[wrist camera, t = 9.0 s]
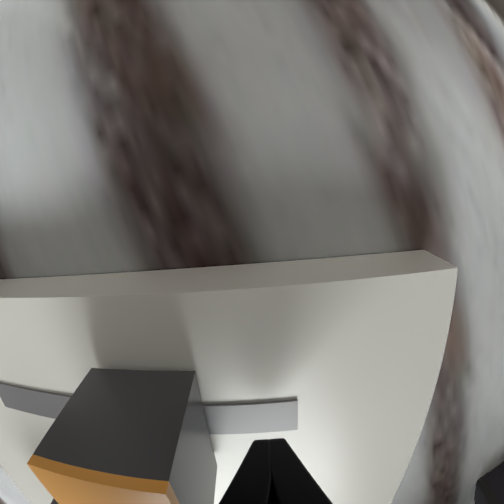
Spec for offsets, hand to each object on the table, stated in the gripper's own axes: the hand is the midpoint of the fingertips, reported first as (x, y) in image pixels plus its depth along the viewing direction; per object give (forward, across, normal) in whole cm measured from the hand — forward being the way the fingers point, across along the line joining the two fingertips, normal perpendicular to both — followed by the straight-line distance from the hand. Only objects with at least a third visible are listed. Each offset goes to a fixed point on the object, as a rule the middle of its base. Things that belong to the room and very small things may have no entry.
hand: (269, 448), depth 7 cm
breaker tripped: (+1, +3, 0) cm, 3 cm away
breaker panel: (+3, +5, +8) cm, 10 cm away
